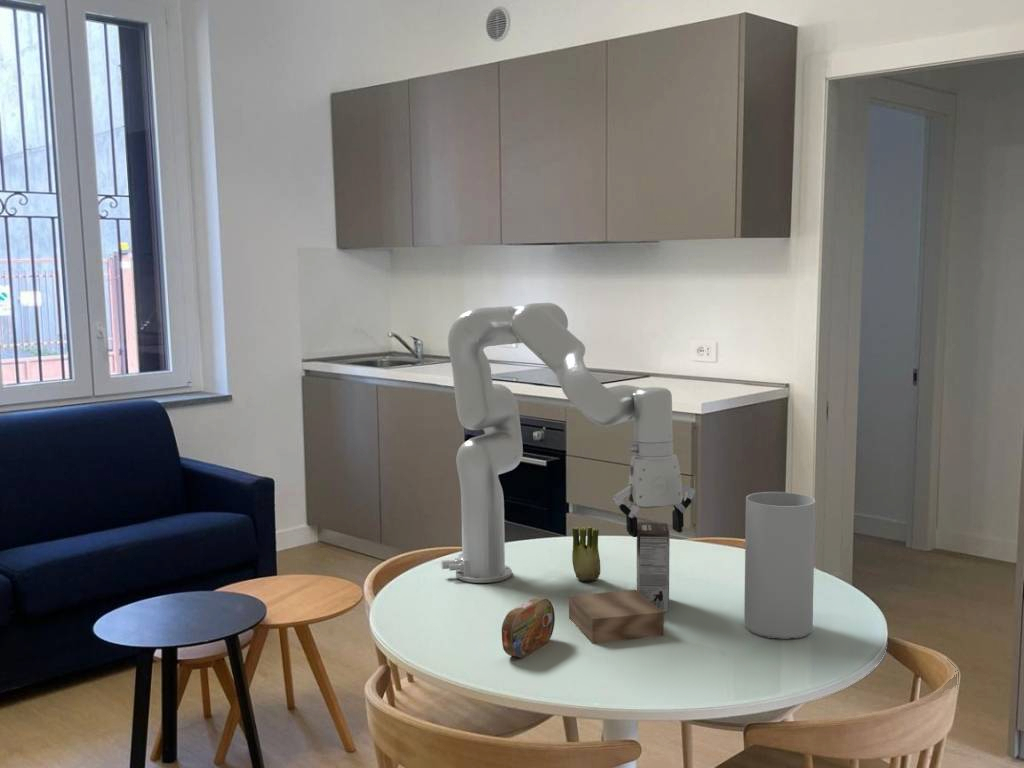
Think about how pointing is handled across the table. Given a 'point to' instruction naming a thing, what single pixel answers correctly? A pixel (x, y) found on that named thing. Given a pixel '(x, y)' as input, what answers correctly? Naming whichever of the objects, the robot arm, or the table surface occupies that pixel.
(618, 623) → the walnut block
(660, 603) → the coffee box
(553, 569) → the table surface
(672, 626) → the table surface
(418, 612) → the table surface
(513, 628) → the tin
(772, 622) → the cylinder vase
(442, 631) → the table surface
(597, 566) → the fennel bulb
